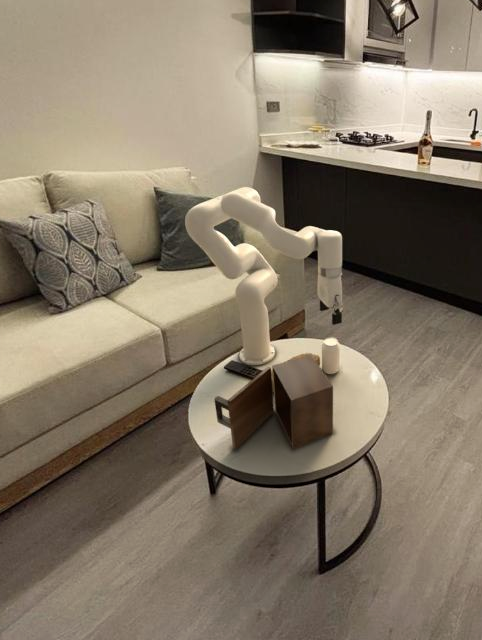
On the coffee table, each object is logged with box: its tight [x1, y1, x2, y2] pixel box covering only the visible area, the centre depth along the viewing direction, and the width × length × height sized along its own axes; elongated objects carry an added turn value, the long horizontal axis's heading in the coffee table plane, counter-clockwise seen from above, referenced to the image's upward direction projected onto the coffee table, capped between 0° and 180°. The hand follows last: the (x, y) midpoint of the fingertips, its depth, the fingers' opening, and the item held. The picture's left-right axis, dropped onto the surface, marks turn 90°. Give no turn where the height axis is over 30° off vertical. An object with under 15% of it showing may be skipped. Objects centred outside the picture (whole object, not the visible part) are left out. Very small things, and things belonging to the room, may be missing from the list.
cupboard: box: [271, 355, 334, 450], centre depth 118 cm, size 12×16×17 cm
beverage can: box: [321, 336, 341, 375], centre depth 141 cm, size 6×6×12 cm
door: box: [214, 366, 275, 450], centre depth 116 cm, size 8×16×17 cm, turn 153°
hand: (330, 316), depth 135 cm, fingers open, 9 cm apart
